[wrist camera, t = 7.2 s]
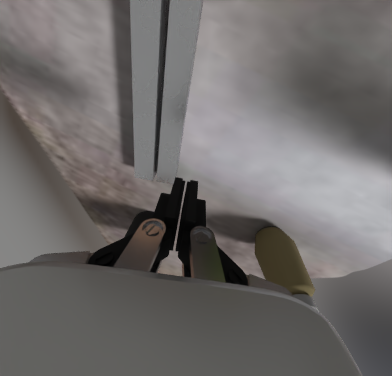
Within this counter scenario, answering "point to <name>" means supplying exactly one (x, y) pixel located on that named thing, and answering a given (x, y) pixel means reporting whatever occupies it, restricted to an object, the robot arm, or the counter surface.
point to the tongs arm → (177, 82)
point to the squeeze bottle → (283, 263)
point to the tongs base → (147, 81)
